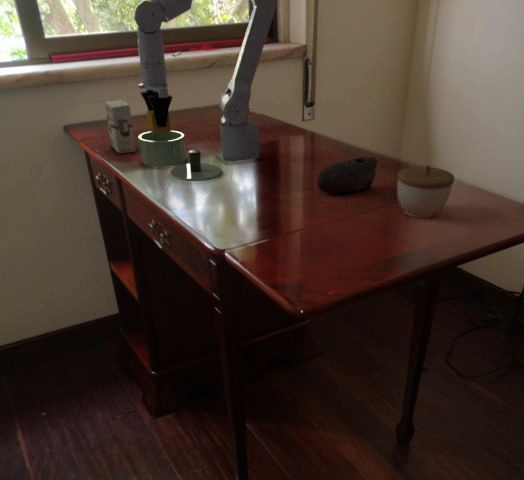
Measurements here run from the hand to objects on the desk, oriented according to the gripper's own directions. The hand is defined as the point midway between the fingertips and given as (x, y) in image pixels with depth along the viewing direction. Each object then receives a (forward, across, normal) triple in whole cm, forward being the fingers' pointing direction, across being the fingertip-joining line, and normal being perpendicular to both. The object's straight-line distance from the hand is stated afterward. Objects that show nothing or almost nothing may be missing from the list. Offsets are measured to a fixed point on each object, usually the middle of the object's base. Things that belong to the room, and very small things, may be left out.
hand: (159, 124), depth 131 cm
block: (+1, 0, 0) cm, 1 cm away
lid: (+9, +13, +4) cm, 17 cm away
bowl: (+9, -1, 0) cm, 9 cm away
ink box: (+10, -17, -6) cm, 20 cm away
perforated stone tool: (+10, +38, +31) cm, 50 cm away
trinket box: (+10, +55, +38) cm, 68 cm away
